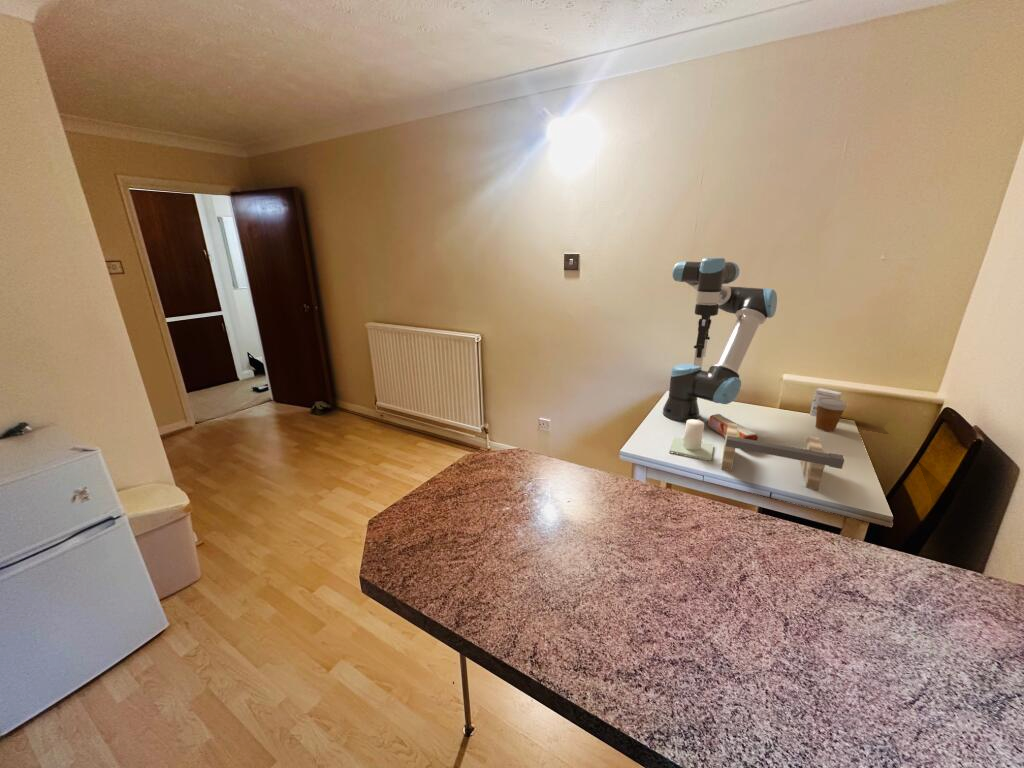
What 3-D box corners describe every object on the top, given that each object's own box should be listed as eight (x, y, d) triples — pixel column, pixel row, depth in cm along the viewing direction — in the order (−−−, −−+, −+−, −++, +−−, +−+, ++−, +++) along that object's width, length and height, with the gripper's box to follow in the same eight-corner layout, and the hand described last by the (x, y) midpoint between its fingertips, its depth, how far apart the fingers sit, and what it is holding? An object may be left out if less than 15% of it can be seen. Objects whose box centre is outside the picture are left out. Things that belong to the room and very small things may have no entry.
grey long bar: (725, 442, 132) (727, 434, 131) (839, 464, 118) (842, 455, 117) (725, 446, 130) (727, 438, 129) (841, 468, 116) (844, 459, 115)
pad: (674, 439, 158) (674, 436, 158) (713, 446, 152) (713, 444, 151) (669, 452, 148) (669, 450, 148) (710, 461, 142) (711, 458, 142)
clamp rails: (723, 448, 150) (728, 422, 147) (811, 465, 138) (818, 437, 134) (721, 469, 137) (726, 441, 133) (818, 489, 124) (826, 459, 121)
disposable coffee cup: (814, 431, 162) (821, 404, 158) (808, 422, 170) (814, 395, 166) (843, 435, 158) (851, 407, 154) (835, 425, 167) (842, 398, 163)
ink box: (836, 417, 173) (843, 392, 169) (832, 420, 170) (839, 395, 167) (813, 411, 180) (819, 387, 176) (809, 414, 177) (815, 389, 173)
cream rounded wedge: (684, 442, 154) (687, 418, 151) (701, 445, 151) (705, 421, 148) (682, 448, 149) (685, 424, 146) (699, 452, 146) (703, 427, 143)
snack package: (705, 427, 168) (708, 412, 166) (720, 426, 169) (722, 411, 167) (741, 452, 148) (744, 435, 146) (757, 450, 149) (760, 433, 147)
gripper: (717, 309, 130) (707, 371, 137) (721, 299, 150) (713, 354, 157) (691, 308, 133) (684, 368, 140) (699, 298, 154) (692, 352, 161)
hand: (699, 361), depth 149 cm, fingers open, 13 cm apart
